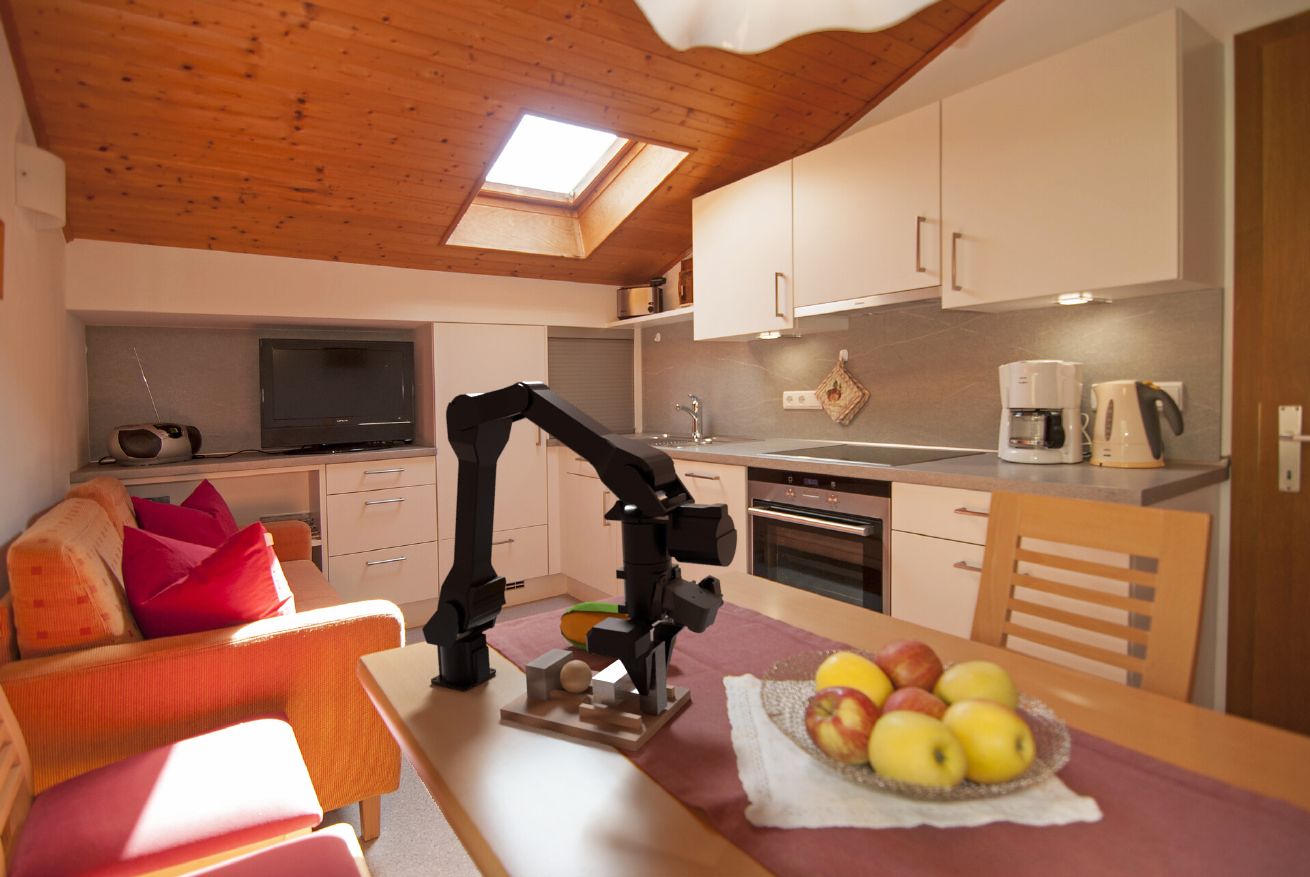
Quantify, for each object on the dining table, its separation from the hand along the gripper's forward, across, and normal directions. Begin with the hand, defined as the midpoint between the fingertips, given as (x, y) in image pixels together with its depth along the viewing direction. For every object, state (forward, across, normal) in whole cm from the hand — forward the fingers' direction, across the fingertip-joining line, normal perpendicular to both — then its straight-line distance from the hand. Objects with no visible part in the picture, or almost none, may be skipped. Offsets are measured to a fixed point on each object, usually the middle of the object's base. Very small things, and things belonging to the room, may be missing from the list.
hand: (652, 687), depth 83 cm
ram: (+2, 0, +3) cm, 4 cm away
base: (+4, 0, +8) cm, 9 cm away
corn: (+4, +17, +15) cm, 23 cm away
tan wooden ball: (0, 0, +11) cm, 11 cm away
